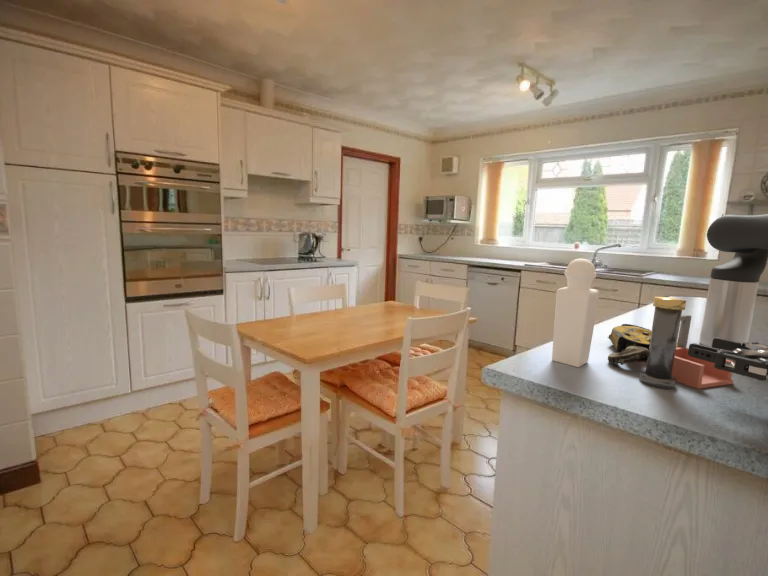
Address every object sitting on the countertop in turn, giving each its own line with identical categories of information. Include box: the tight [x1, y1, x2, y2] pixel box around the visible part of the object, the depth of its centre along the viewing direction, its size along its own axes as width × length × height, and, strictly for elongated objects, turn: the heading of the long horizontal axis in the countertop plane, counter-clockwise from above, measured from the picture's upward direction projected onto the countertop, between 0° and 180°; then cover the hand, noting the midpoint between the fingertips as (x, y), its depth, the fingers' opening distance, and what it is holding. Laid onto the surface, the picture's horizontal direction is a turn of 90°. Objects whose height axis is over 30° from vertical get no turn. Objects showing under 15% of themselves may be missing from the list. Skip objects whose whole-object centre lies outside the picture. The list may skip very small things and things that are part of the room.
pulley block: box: [607, 323, 677, 366], centre depth 92 cm, size 14×6×30 cm
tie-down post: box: [638, 296, 687, 390], centre depth 73 cm, size 6×6×16 cm
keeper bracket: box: [672, 314, 734, 390], centre depth 79 cm, size 11×11×11 cm
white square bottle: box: [551, 257, 600, 368], centre depth 83 cm, size 6×6×22 cm
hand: (701, 346), depth 68 cm, fingers open, 8 cm apart
